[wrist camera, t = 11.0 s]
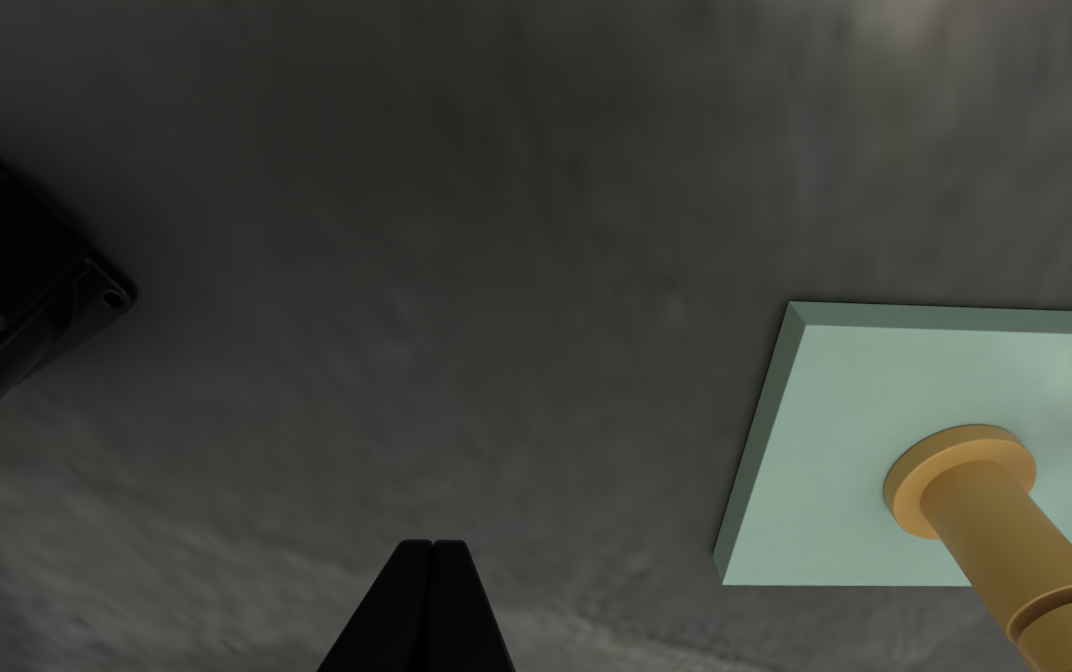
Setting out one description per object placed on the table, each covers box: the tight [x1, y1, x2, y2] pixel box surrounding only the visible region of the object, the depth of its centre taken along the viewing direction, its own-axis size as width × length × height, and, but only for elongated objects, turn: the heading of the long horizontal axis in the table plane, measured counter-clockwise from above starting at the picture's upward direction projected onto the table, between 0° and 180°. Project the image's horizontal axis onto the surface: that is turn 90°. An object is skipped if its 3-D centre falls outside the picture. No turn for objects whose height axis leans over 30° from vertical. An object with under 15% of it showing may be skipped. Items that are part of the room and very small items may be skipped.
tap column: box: [884, 425, 1072, 646], centre depth 22 cm, size 5×5×6 cm
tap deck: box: [713, 301, 1072, 586], centre depth 25 cm, size 14×12×2 cm
